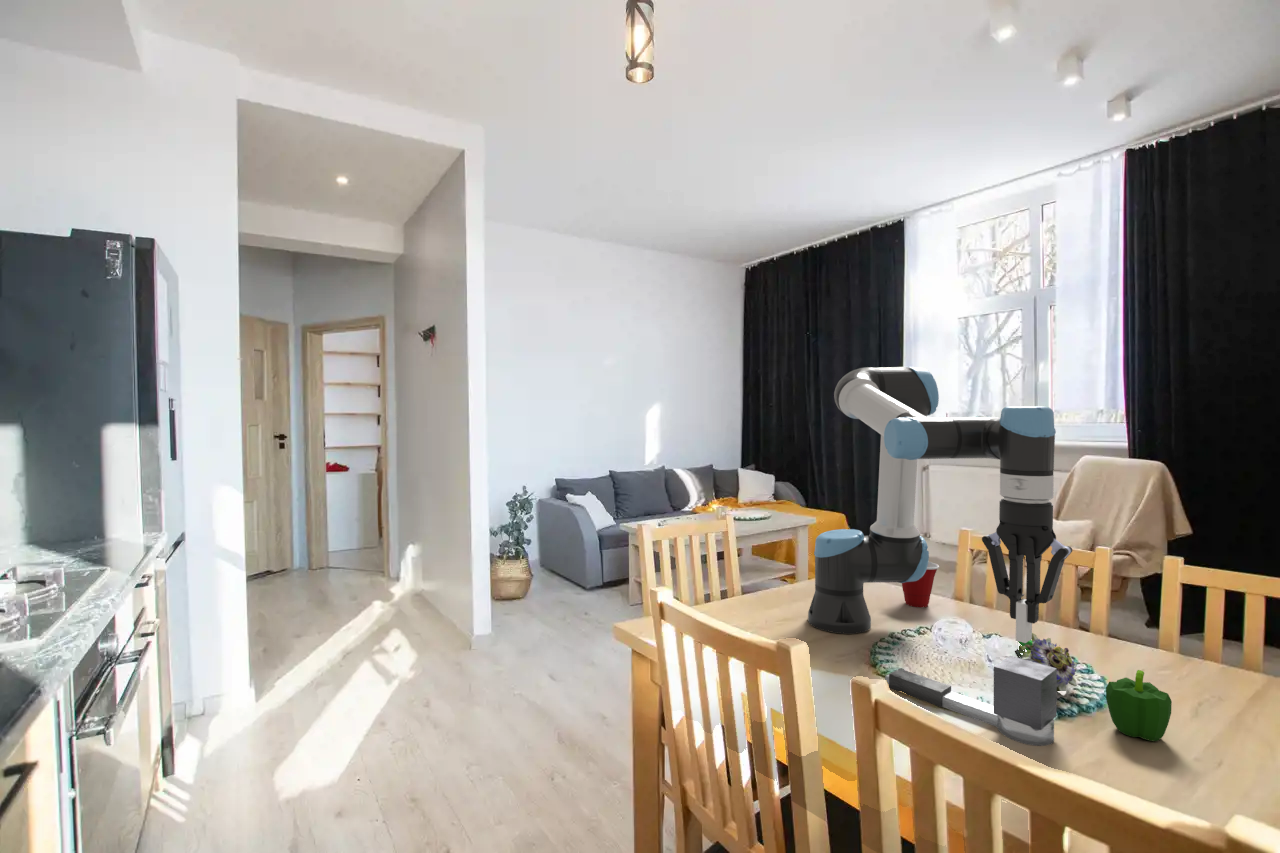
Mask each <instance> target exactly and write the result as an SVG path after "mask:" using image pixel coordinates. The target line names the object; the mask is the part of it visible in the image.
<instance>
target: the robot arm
mask: <svg viewBox="0 0 1280 853" xmlns="http://www.w3.org/2000/svg"><path fill="white" fill-rule="evenodd" d="M937 384H938V383H937V381H936V379H935V378H934V376H933V374H932V373H931V372H930V371H929V370H928V369H927V368H923V367H917V366H915V367H914V366H891V367H889V366H888V367H885V366H883V367H871V366H870V367H868V366H867V367H866V366H865V367H859V368H857V369H853V370H851V371H849V372H848V373H846V374H845V375H844V376H842V378H841V379H840V380H839V381H838V382H837V384H836V385H835V389H834V392H833V395H834V396H833V398H834V403H835V404H836V405H835V406H837V409H838V410H839V411H840V412H841V413H843V414H844V415H845V416H846V417H849V418H851V419H854V420H860V421H861V422H863V423H864V424H865V425H867V426H868V427H870V428H871V429H872V430H874V431H875V432H877V433H878V434H879V435H880V447H879V449H880V450H879V451H880V452H879V468H878V469H879V470H878V486H877V489H878V491H877V506H876V507H877V508H876V509H877V510H876V520H875V521H874V523H873V524H871V525H870V527H869V535H864V533H863V531H862V530H859V529H855V528H849V529H846V528H841V529H832V530H827V531H825V532H822V533H820V534H819V535H817V537H816V538H815V545H814V554H813V555H814V594H813V598H812V600H811V603H810V606H809V609H808V611H807V620H808V621H807V622H808V624H809V625H810V626H812V627H814V628H816V629H818V630H820V631H821V630H822V631H824V632H830V633H836V634H844V635H845V634H847V635H852V634H861V633H864V632H866V631H869V630H870V629H871V627H872V618H871V614H870V612H869V608H868V606H867V602H866V599H865V596H864V584H867V583H870V584H871V583H874V584H875V583H898V584H899V583H900V584H902V583H905V582H913V581H917V580H919V579H920V578H921V577H923V575H924V574H925V572H926V570H927V566H928V561H929V558H930V555H929V554H930V552H929V550H928V547H929V546H928V543H927V541H926V539H925V538H924V537H923V536H921V531H920V530H919V529H918V528H917V527H916V526H915V510H916V509H915V508H916V506H915V505H916V492H917V491H916V489H917V471H918V460H938V459H940V460H941V459H946V460H947V459H991V460H999V462H1000V463H999V467H1000V468H999V495H1000V496H1001V497H1003V498H1001V499H1000V500H999V509H998V510H999V512H998V513H999V514H998V515H999V516H998V518H999V523H998V525H997V526H996V530H995V532H993V533H991V534H987V535H984V536H982V538H981V541H982V543H983V544H984V546H985V548H986V550H987V551H988V556H989V560H990V565H991V568H992V573H993V576H994V577H993V578H994V581H995V584H996V585H995V586H996V590H997V592H998V594H1000V595H1004V596H1006V598H1007V597H1008V599H1009V616H1010V619H1013V620H1015V641H1016V642H1018V641H1019V642H1023V643H1027V642H1028V641H1030V640H1032V633H1033V624H1036V623H1038V621H1039V619H1040V616H1039V615H1040V606H1039V605H1040V604H1046V603H1048V602H1050V601H1051V600H1053V598H1054V596H1055V595H1054V594H1055V591H1056V588H1057V586H1058V582H1059V580H1060V576H1061V573H1062V569H1063V567H1064V564H1065V560H1066V559H1067V558H1068V557H1069V556H1070V555H1071V554H1072V553H1073V548H1072V547H1071V546H1069V545H1064V544H1063V543H1061V542H1060V541H1059V540H1057V536H1056V533H1055V531H1054V528H1053V527H1054V503H1052V502H1051V501H1050V500H1053V499H1054V482H1055V481H1054V478H1055V477H1054V471H1055V448H1056V446H1055V444H1056V442H1055V440H1056V432H1057V431H1056V428H1055V414H1054V413H1055V412H1054V411H1053V409H1052V408H1051V407H1049V406H1044V405H1043V406H1031V405H1030V406H1024V405H1023V406H1022V405H1021V406H1005V407H1003V408H1002V410H1001V412H1000V416H998V417H997V416H991V415H977V416H962V417H961V416H957V417H956V416H955V417H954V416H952V417H951V416H947V417H946V416H945V417H944V416H943V417H941V416H939V417H933V416H931V415H933V414H934V413H935V412H936V411H937V408H938V407H939V406H938V405H939V400H940V399H939V398H940V396H939V388H938V385H937ZM1001 543H1003V545H1004V546H1005V548H1006V549H1007V550H1008V556H1007V557H1008V560H1009V567H1008V568H1009V571H1007V566H1006V562H1005V558H1004V555H1003V549H1002V547H1001ZM1050 547H1051V550H1050V553H1051V555H1052V557H1051V558H1050V561H1049V564H1048V568H1047V572H1046V573H1045V577H1044V581H1043V583H1042V586H1041V562H1042V559H1043V555H1044V553H1046V551H1048V550H1049V548H1050ZM1024 558H1025V563H1026V589H1025V590H1026V593H1025V594H1026V595H1025V594H1024V593H1023V591H1024V590H1023V589H1024V588H1023V587H1024ZM929 562H930V561H929ZM1024 596H1025V597H1026V598H1022V597H1024Z"/></svg>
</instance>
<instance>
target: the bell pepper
mask: <svg viewBox="0 0 1280 853" xmlns="http://www.w3.org/2000/svg"><path fill="white" fill-rule="evenodd" d="M1144 676H1145V671H1143V670H1140V669H1137V670H1136V673H1135V677H1134V678H1135V680H1133V679H1130V678H1129V677H1122V678H1120V679H1117V680H1116V681H1109V682H1108V684H1107V685H1106V687H1105V700H1106V704H1107V708H1108V711H1109V714H1110V718H1111V721H1112V723H1113V725H1114V726H1115V728H1116V729H1117V731H1118V732H1120V733H1122V734H1124V735H1126V736H1129V737H1133V738H1137V737H1138V738H1141V739H1143V740H1147V741H1150V742H1158V741H1160V740H1161V739H1162V738H1163V737H1164V736H1165V733H1166V730H1167V728H1168V725H1169V722H1170V719H1171V716H1172V699H1171V697H1170V695H1169V693H1167V692H1165V691H1162V690H1161V689H1159V688H1158V687H1156V686H1155V685H1154V684H1152V683H1151V682H1147V681H1146V682H1144Z"/></svg>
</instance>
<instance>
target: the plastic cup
mask: <svg viewBox="0 0 1280 853" xmlns="http://www.w3.org/2000/svg"><path fill="white" fill-rule="evenodd" d="M939 568H940V565H939V564H938V563H934V562H932V561H928V566H927V570H926V572H925V574H924V575H923V577H921V578H920V579H919V580H917V581H913V582H905V583H901V586H902V587H901V588H902V592H903V596H904V601H905V604H906V605H907V606H909V607H912V608H926V607H928V606H929V604H930V599H931V595H932V591H933V590H932V589H933V585H934V580H935V576H936V573H937V570H938V569H939Z"/></svg>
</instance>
